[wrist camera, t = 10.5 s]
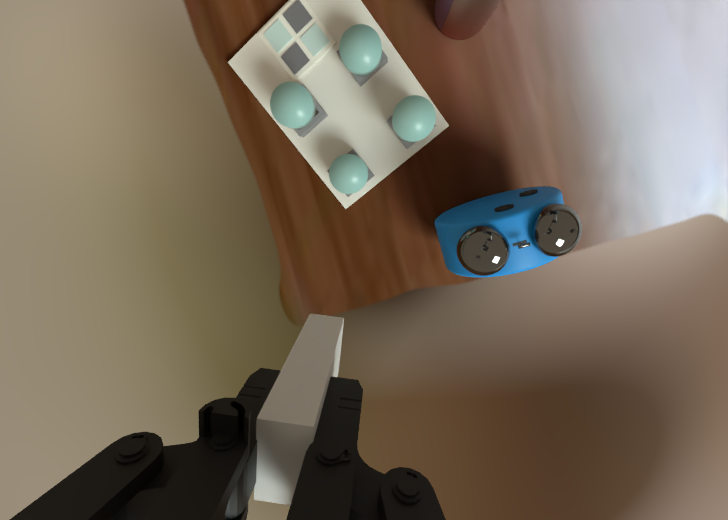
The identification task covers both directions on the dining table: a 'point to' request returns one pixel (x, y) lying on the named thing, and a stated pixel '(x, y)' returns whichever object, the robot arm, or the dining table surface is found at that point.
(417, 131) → the button
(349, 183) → the button
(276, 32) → the board
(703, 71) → the dining table surface
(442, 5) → the beverage can
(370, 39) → the button
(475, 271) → the alarm clock
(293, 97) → the button
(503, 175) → the dining table surface
